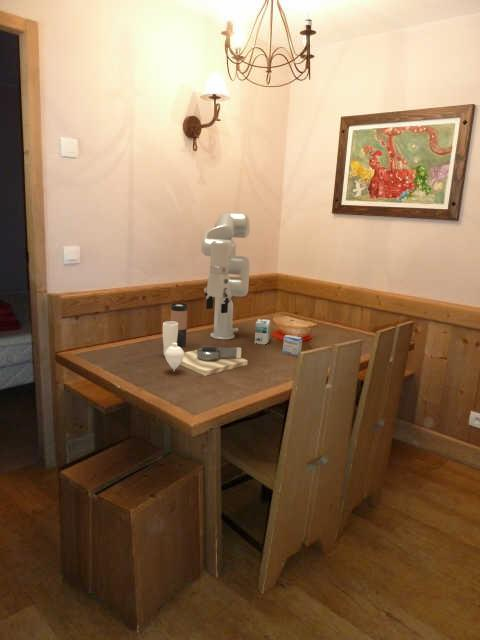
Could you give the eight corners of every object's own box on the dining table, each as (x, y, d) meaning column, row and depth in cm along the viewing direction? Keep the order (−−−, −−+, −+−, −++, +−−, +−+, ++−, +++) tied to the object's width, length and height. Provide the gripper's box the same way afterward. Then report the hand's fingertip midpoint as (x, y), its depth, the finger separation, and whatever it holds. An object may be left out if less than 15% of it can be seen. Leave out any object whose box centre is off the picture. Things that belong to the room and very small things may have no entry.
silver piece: (197, 361, 194) (198, 349, 193) (196, 353, 204) (196, 342, 203) (242, 361, 198) (243, 349, 197) (238, 354, 207) (239, 343, 206)
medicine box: (282, 353, 220) (283, 336, 218) (285, 351, 224) (287, 334, 222) (297, 356, 217) (299, 339, 215) (301, 354, 220) (302, 337, 218)
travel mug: (187, 343, 227) (188, 303, 222) (184, 348, 219) (185, 306, 215) (172, 342, 227) (173, 302, 223) (168, 346, 220) (169, 305, 215)
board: (210, 351, 217) (211, 346, 217) (247, 364, 201) (247, 359, 200) (169, 360, 201) (169, 355, 200) (205, 375, 184) (205, 370, 184)
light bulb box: (267, 345, 233) (268, 324, 231) (254, 343, 234) (255, 322, 232) (269, 339, 243) (270, 319, 241) (256, 338, 244) (258, 318, 242)
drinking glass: (174, 358, 203) (175, 325, 200) (159, 356, 204) (160, 323, 201) (179, 354, 209) (180, 322, 206) (165, 352, 211) (165, 320, 207)
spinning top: (174, 367, 192) (175, 339, 189) (187, 372, 187) (188, 343, 185) (160, 371, 186) (161, 342, 184) (173, 376, 182) (174, 346, 179)
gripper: (239, 272, 190) (236, 313, 193) (212, 267, 202) (210, 306, 206) (225, 273, 185) (223, 315, 188) (198, 268, 197) (197, 307, 201)
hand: (216, 310), depth 197 cm, fingers open, 9 cm apart
